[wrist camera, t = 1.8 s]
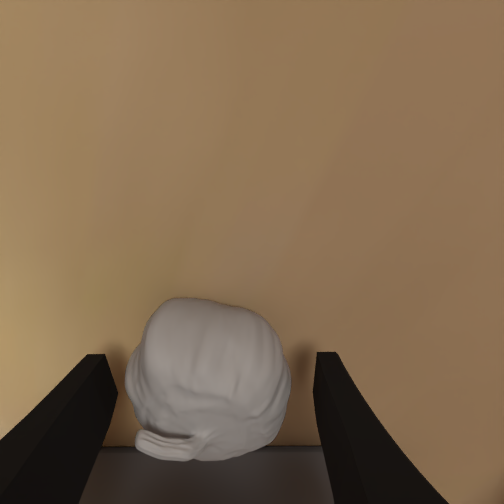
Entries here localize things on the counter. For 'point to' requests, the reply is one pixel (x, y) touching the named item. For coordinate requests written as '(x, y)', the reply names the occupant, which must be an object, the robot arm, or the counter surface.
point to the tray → (210, 478)
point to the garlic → (207, 382)
